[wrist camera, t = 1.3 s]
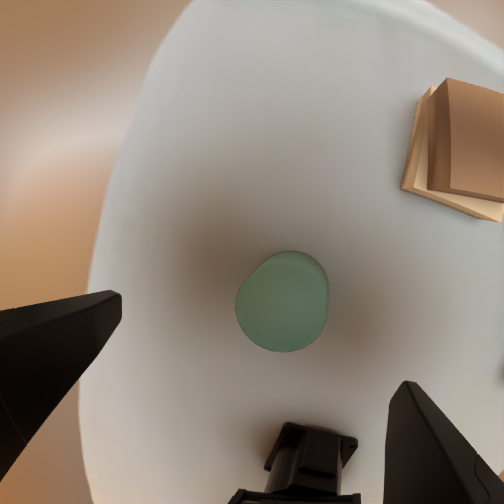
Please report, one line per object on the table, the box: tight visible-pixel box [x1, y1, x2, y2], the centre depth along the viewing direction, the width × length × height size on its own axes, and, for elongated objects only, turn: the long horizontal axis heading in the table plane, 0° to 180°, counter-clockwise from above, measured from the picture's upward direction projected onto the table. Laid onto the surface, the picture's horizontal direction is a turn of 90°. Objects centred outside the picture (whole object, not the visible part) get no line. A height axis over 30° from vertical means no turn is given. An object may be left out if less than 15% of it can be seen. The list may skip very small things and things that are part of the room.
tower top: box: [427, 78, 504, 203], centre depth 11 cm, size 5×5×4 cm
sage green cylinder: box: [235, 251, 328, 352], centre depth 18 cm, size 5×5×4 cm
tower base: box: [400, 86, 504, 223], centre depth 15 cm, size 6×6×4 cm
